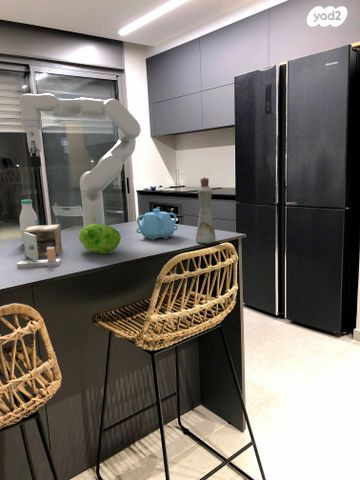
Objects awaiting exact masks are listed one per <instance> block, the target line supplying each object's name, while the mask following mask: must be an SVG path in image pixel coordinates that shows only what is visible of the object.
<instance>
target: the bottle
mask: <svg viewBox="0 0 360 480" xmlns="http://www.w3.org/2000/svg"><path fill="white" fill-rule="evenodd" d="M199 181H200V187H199V189H198V190H197V194H198V195H197V196H198V201H199V206H200V207H199V213H198V222H197V228H196V233H195V235H196V236H195V242H196V243H197V244H198V243H201V244H206V245H207V244H215V242H216V240H217V239H216V233H215V232H216V230H215V225H214V220H213V215H212V213H213V212H212V208H211V204H212V197H213V196H212V195H213V189H212V188H211V187H210V186H209V181H210V180H209V178H208V177H207V178H206V177H205V176H204V177H202V178H200V180H199Z"/></svg>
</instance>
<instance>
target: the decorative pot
mask: <svg viewBox="0 0 360 480" xmlns="http://www.w3.org/2000/svg"><path fill="white" fill-rule="evenodd" d="M171 216H173V218H172V217H171ZM140 218H142V219H141V222H140ZM176 222H177V215H176V213H173V212H167V211H161V209H160V208H153V209H152V211H150V212H145V213H144V214H141V215H138V216H137V218H136V223H137V226H138V227H137V228H136V233H137V234H139V235H140V234H141V235H142V236H143V237H145V238H148V239H149V240H151V241H154V240H156V239H157V238H163V239H166V240H167V239H169V238H170V237H172V236H173V235H174V233H175V231H177V230H178V228H179V227H178V225H177V224H176Z"/></svg>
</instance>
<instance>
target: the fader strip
mask: <svg viewBox="0 0 360 480" xmlns="http://www.w3.org/2000/svg"><path fill="white" fill-rule="evenodd" d="M60 264H61V258H56V260H55V261H48V259H39V260H32V259H31V260H23V261H22V260H21V261H19V262H17V264H16V266H17V269H27V268H28V269H29V268H39V267H40V268H41V267H53V266H54V267H56V266H60Z"/></svg>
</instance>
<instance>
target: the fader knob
mask: <svg viewBox="0 0 360 480" xmlns="http://www.w3.org/2000/svg"><path fill="white" fill-rule="evenodd" d="M46 256H47V258H46V259H47V260H48V261H55V260H56V259H57V255H56V253H55V247H47V255H46Z"/></svg>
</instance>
